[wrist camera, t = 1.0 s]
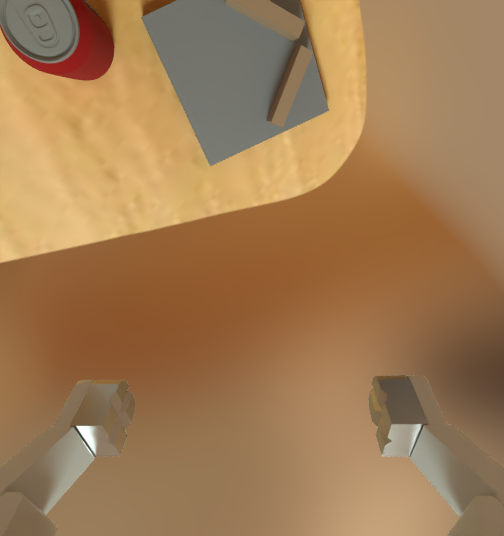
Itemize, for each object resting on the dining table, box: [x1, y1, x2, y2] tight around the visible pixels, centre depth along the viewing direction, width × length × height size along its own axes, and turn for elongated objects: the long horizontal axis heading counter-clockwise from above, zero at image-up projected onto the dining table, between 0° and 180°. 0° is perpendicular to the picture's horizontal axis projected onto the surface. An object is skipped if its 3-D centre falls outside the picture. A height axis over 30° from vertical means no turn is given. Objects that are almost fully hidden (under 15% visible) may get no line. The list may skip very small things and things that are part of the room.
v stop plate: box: [141, 0, 329, 166], centre depth 37 cm, size 16×16×4 cm
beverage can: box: [0, 0, 114, 80], centre depth 30 cm, size 7×7×12 cm
